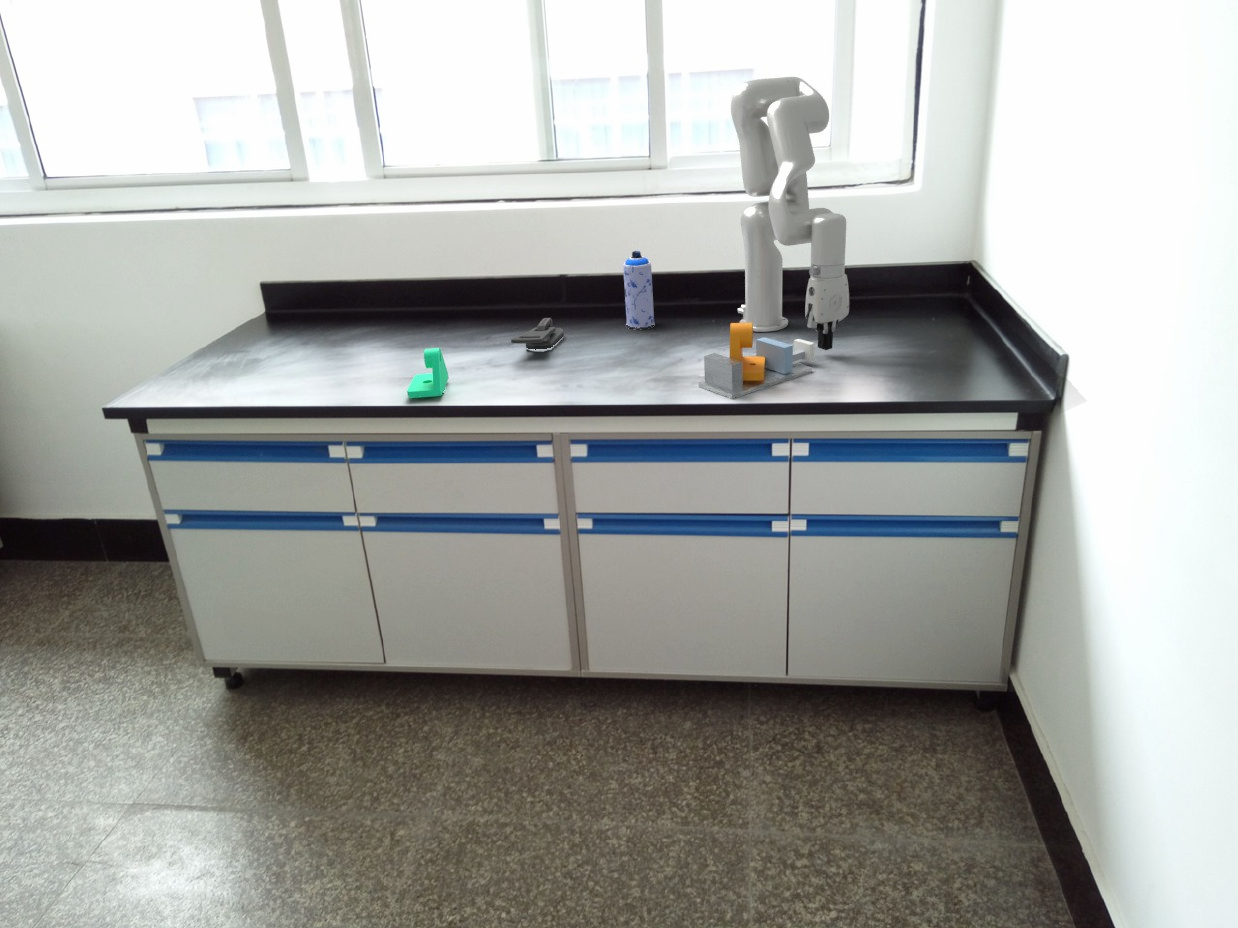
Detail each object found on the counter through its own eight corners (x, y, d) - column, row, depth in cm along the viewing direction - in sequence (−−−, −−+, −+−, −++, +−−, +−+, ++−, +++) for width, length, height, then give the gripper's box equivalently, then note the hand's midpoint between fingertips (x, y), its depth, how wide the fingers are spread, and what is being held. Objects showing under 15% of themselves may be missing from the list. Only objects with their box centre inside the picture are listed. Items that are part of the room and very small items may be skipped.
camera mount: (417, 384, 215) (410, 343, 211) (449, 382, 215) (442, 340, 211) (408, 402, 204) (400, 359, 200) (442, 400, 204) (435, 356, 200)
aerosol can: (628, 321, 251) (623, 249, 243) (656, 321, 250) (652, 248, 242) (624, 329, 244) (619, 255, 236) (653, 329, 243) (649, 254, 235)
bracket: (763, 384, 196) (763, 330, 191) (729, 384, 198) (728, 330, 193) (765, 367, 206) (765, 316, 201) (733, 367, 207) (732, 316, 202)
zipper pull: (507, 339, 220) (531, 311, 243) (510, 365, 223) (534, 335, 245) (543, 339, 219) (564, 311, 241) (546, 365, 222) (566, 335, 244)
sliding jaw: (756, 364, 208) (756, 339, 205) (792, 353, 213) (792, 328, 211) (784, 374, 201) (784, 348, 198) (820, 361, 207) (821, 336, 204)
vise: (698, 386, 201) (697, 356, 198) (777, 361, 213) (777, 332, 210) (731, 399, 192) (731, 367, 189) (811, 372, 204) (812, 342, 201)
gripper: (815, 279, 199) (813, 359, 206) (863, 267, 206) (859, 344, 214) (791, 274, 204) (790, 351, 212) (838, 262, 212) (835, 338, 219)
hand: (824, 348), depth 213 cm, fingers closed
